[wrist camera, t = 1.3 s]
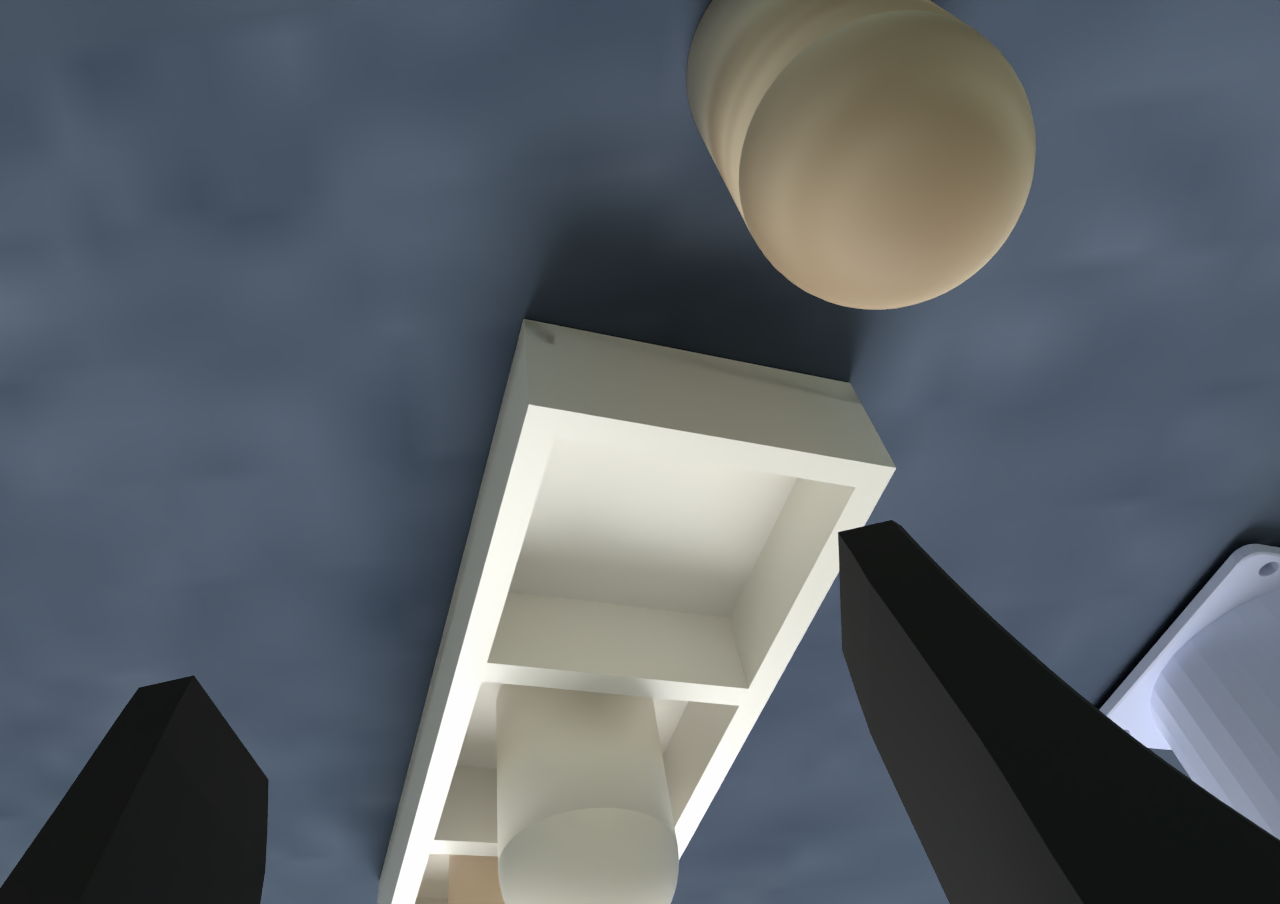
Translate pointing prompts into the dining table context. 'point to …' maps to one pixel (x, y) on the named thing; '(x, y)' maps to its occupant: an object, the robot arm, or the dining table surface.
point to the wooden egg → (863, 141)
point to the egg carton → (621, 614)
